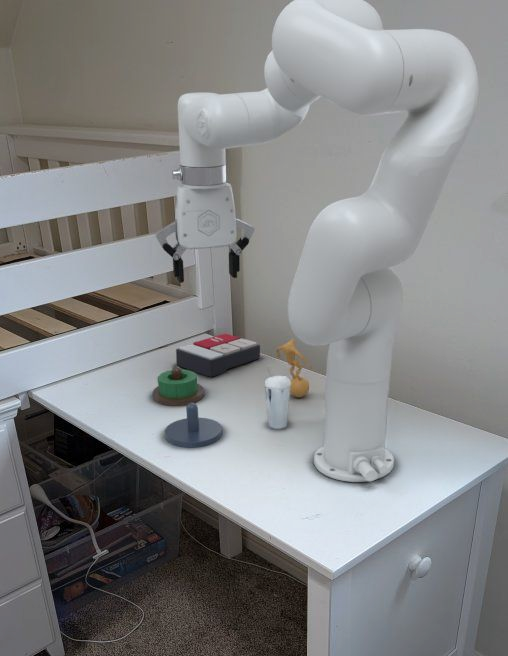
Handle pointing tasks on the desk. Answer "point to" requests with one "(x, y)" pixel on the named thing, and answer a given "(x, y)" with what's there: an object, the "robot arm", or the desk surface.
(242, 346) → the calculator
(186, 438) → the slate peg
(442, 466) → the desk surface
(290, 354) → the figurine
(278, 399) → the milkshake
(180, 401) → the walnut peg
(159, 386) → the ring
